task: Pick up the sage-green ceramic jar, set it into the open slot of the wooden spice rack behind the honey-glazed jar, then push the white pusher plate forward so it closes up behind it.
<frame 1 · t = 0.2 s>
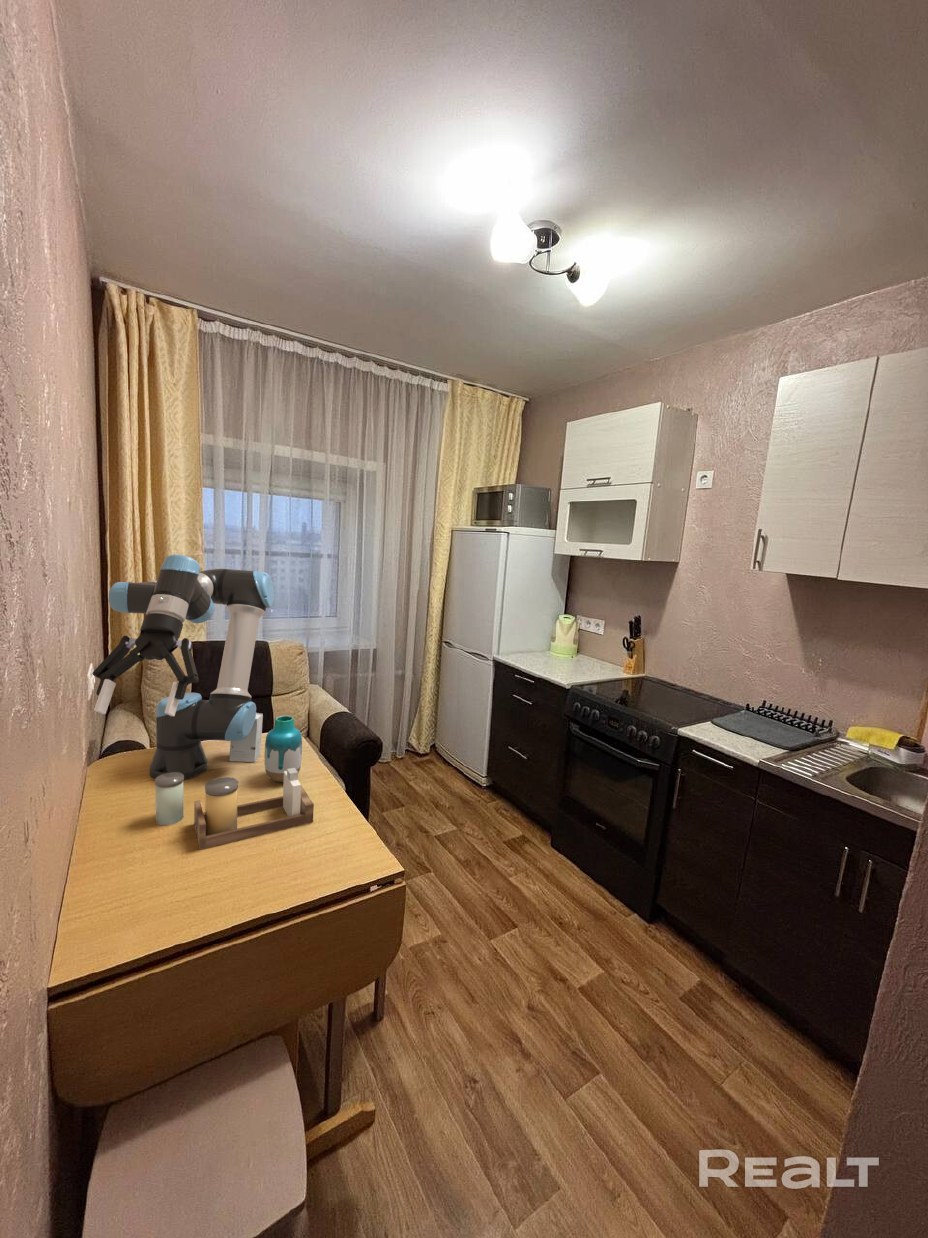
hand: (134, 713, 99), 35 cm above the table, tool tilted 35°, fingers open, 13 cm apart
wooden spice rack: (254, 823, 125), on the table
skincare box: (246, 759, 160), on the table
pusher plate: (291, 792, 129), point 6 cm above the table, slide at 0.0 cm
sage jar: (169, 818, 123), on the table
amber jar: (221, 830, 120), resting in wooden spice rack
vase: (282, 779, 148), on the table
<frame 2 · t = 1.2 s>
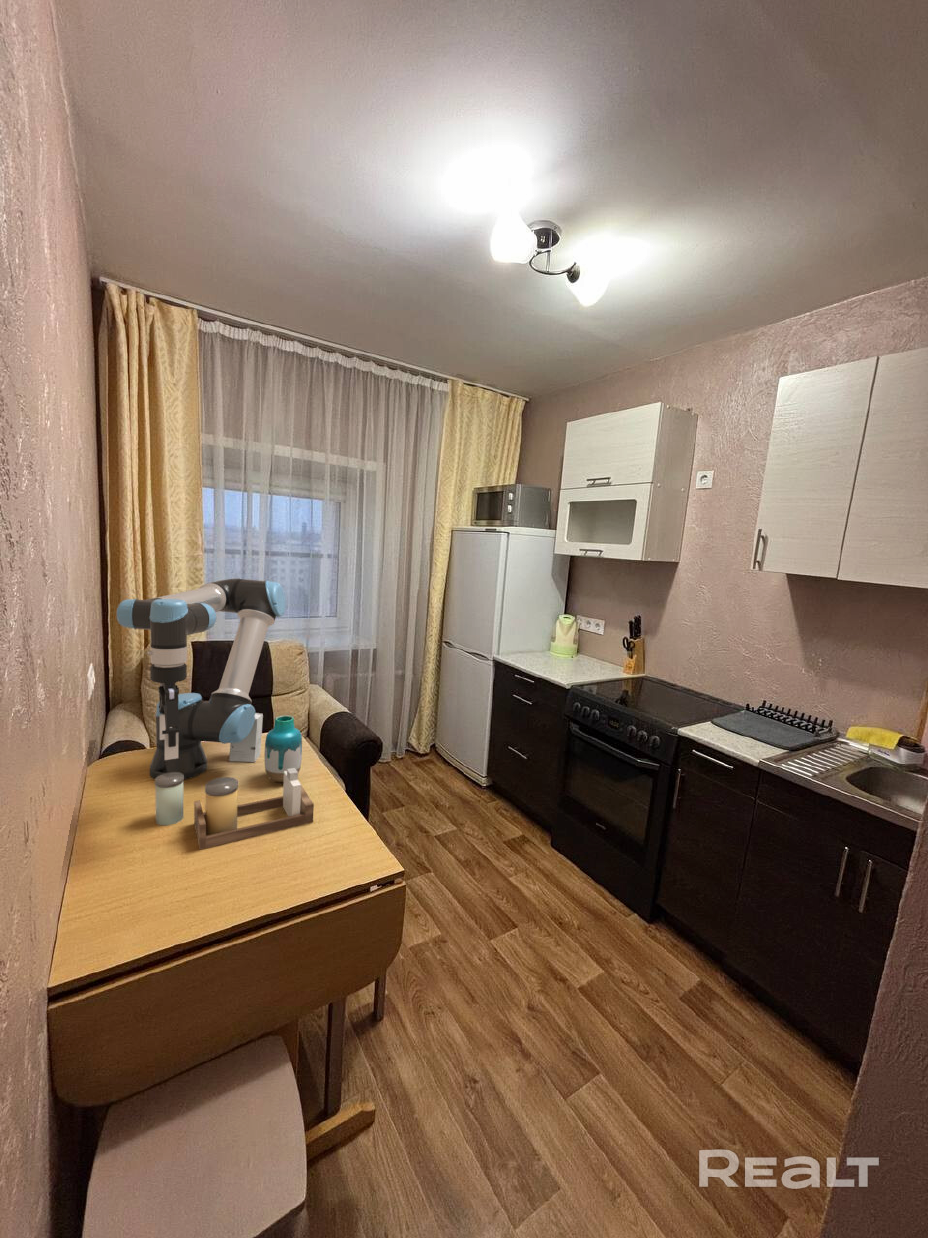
hand: (168, 748, 120), 19 cm above the table, tool pointing down, fingers open, 13 cm apart
nothing on the table moved.
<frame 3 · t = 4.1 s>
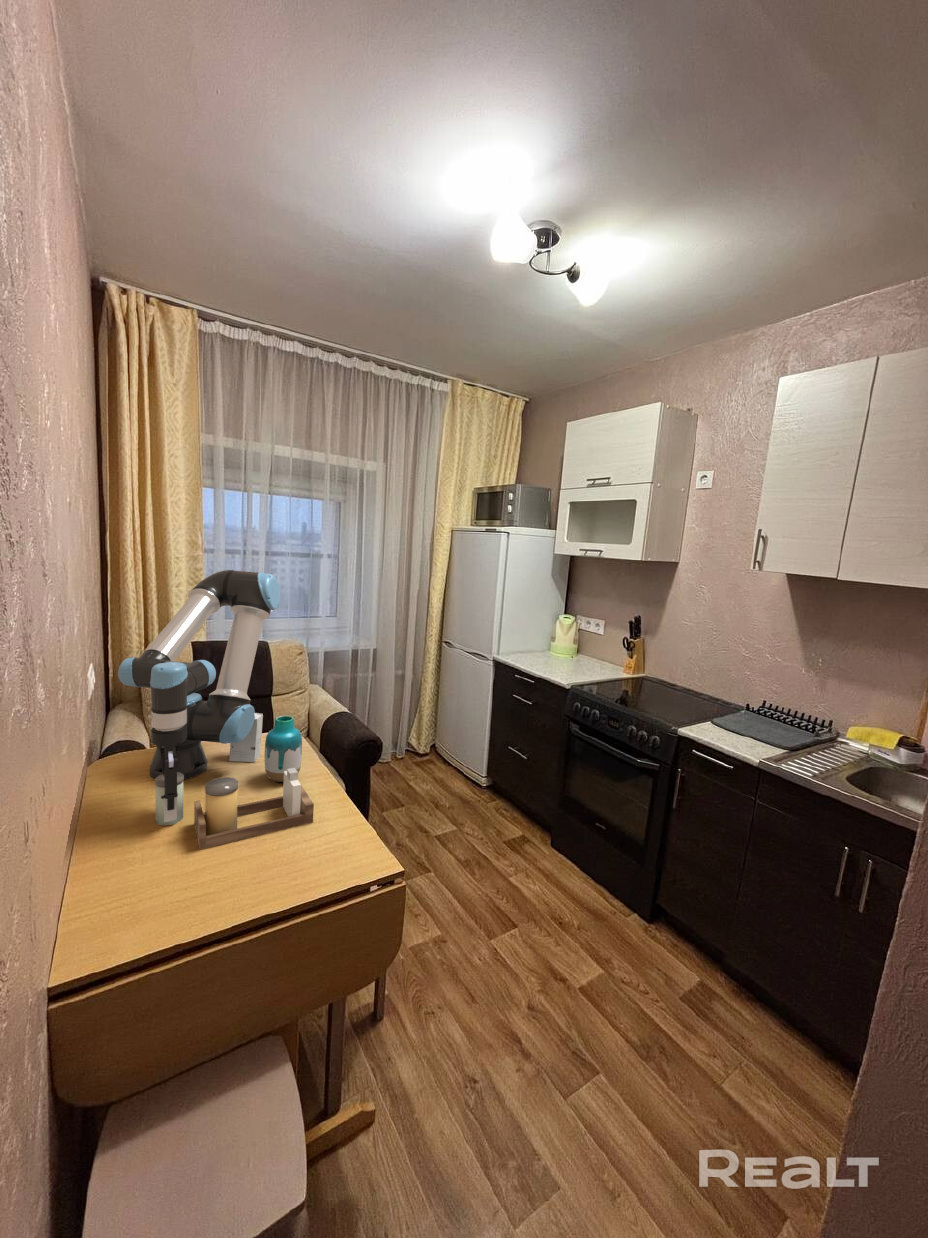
hand: (169, 813, 123), 1 cm above the table, tool pointing down, fingers closed on sage jar, 6 cm apart
sage jar: (169, 818, 123), on the table, touching gripper
everything else where it was.
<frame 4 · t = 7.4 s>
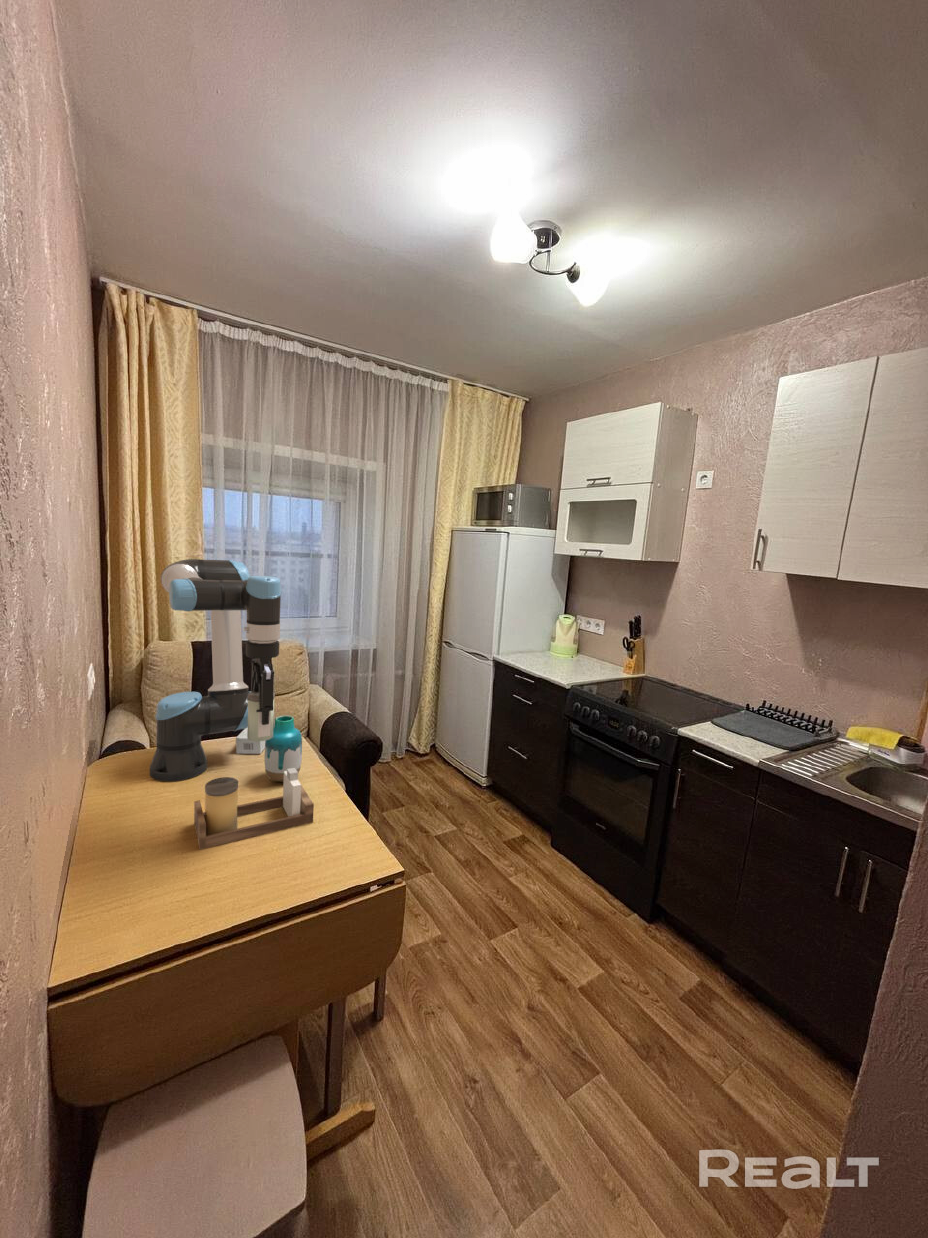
hand: (260, 731, 122), 24 cm above the table, tool pointing down, fingers closed on sage jar, 6 cm apart
skincare box: (248, 746, 162), point 3 cm above the table
sage jar: (260, 736, 122), point 23 cm above the table, touching gripper
everything else where it was.
when the fingers open (3 cm above the table, at t = 11.3 s): sage jar drops 1 cm, resting in wooden spice rack.
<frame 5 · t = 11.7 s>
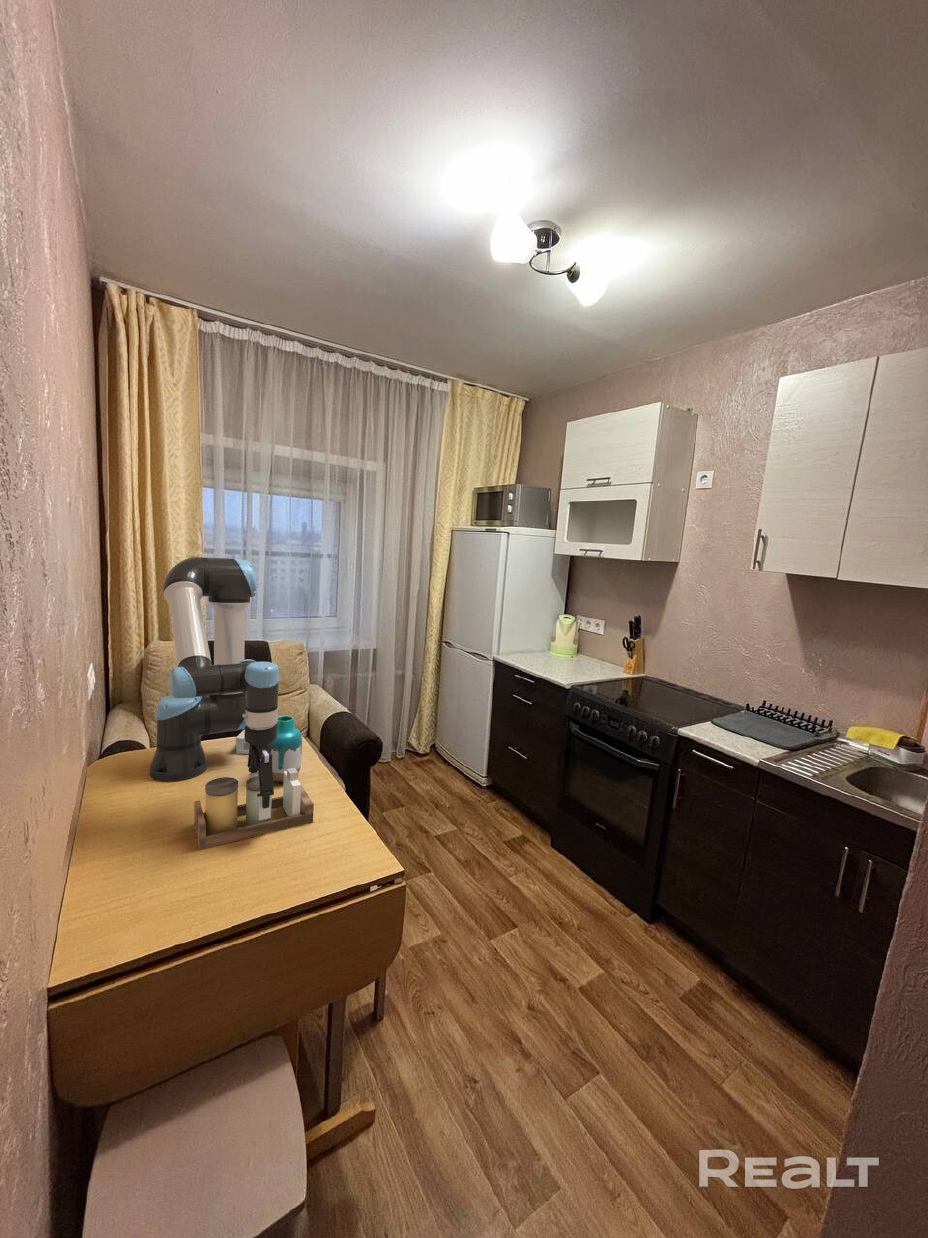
hand: (259, 807, 125), 4 cm above the table, tool pointing down, fingers open, 11 cm apart
sage jar: (258, 822, 125), resting in wooden spice rack
everything else where it was.
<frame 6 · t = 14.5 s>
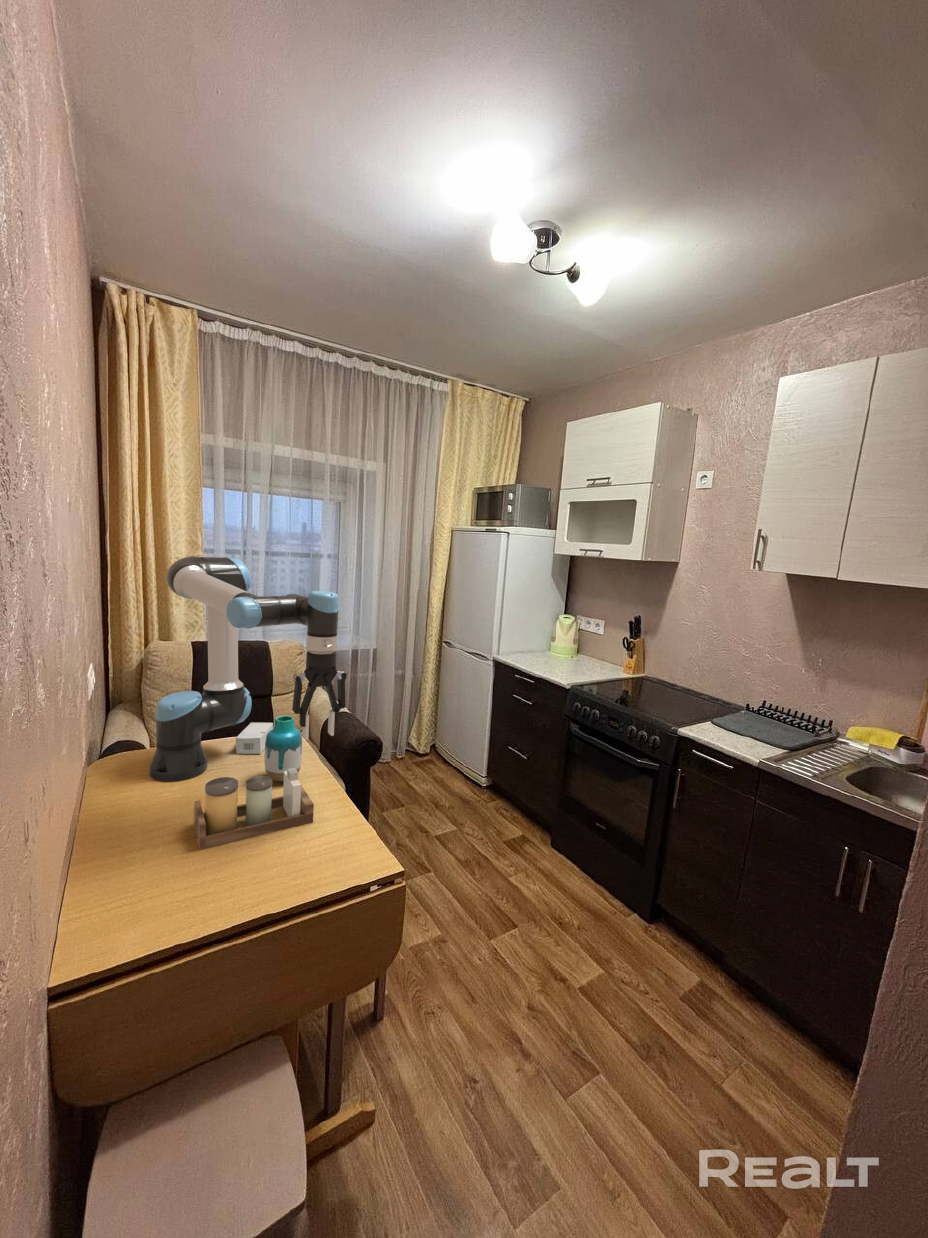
hand: (318, 735, 130), 21 cm above the table, tool pointing down, fingers open, 6 cm apart
nothing on the table moved.
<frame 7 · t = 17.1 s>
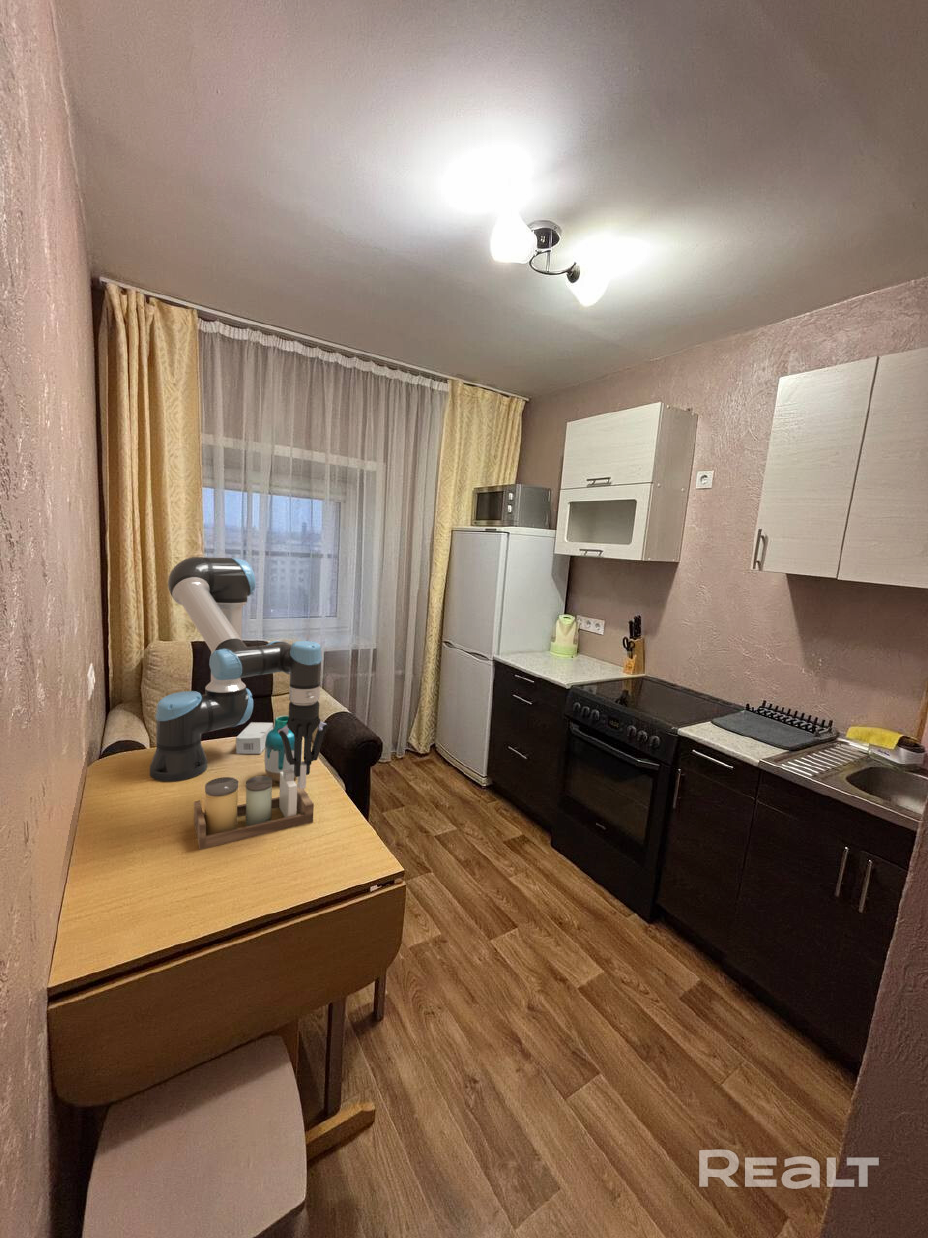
hand: (301, 786, 130), 7 cm above the table, tool pointing down, fingers closed
pusher plate: (288, 793, 128), point 6 cm above the table, slide at 1.0 cm, touching gripper
everything else where it was.
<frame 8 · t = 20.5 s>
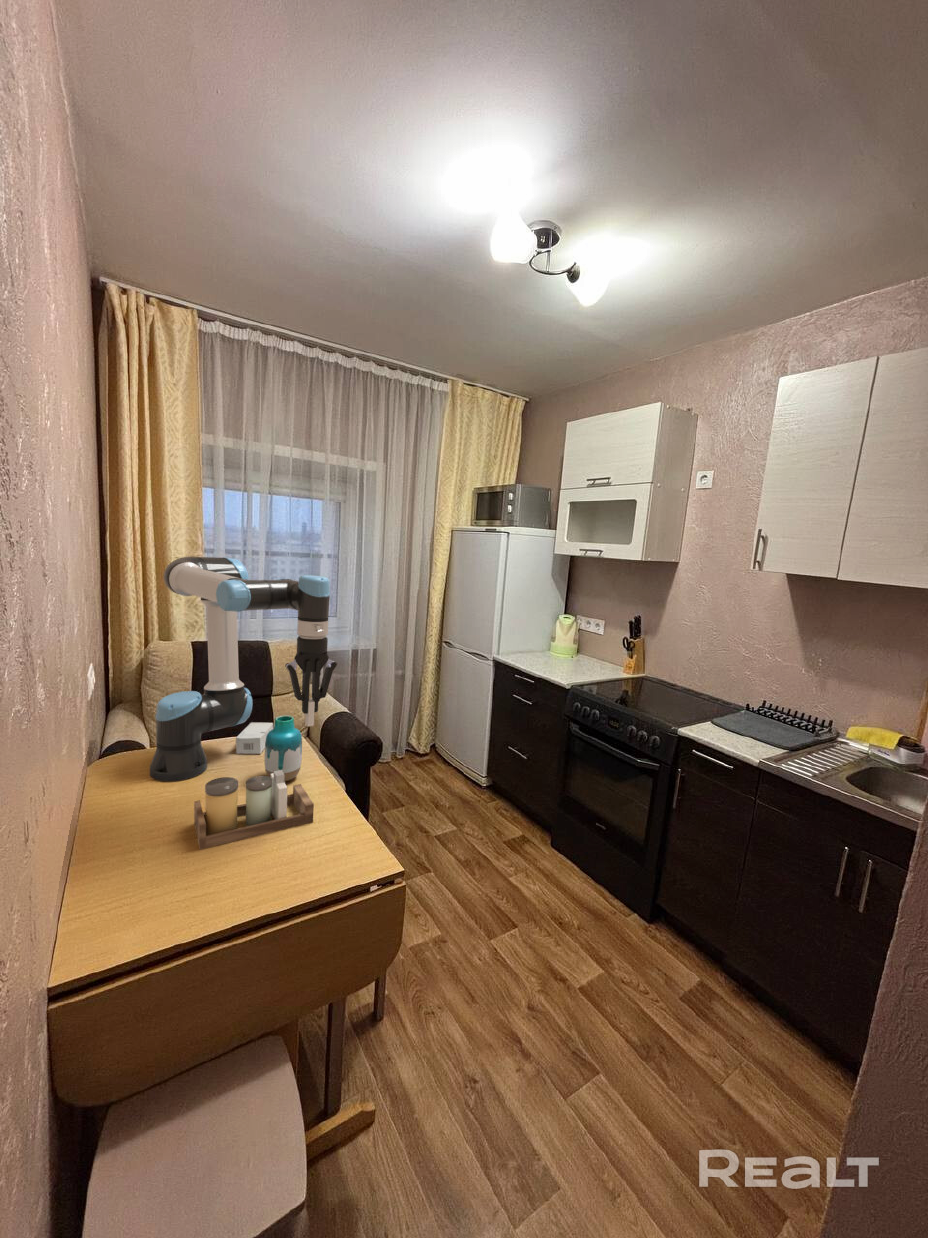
hand: (309, 724, 129), 24 cm above the table, tool pointing down, fingers closed
pusher plate: (278, 795, 127), point 6 cm above the table, slide at 3.4 cm
everything else where it was.
at the end: sage jar inside the target area (0.6 cm from its centre), resting in wooden spice rack; sage jar tilted 0°; pusher plate slide at 3.4 cm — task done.
